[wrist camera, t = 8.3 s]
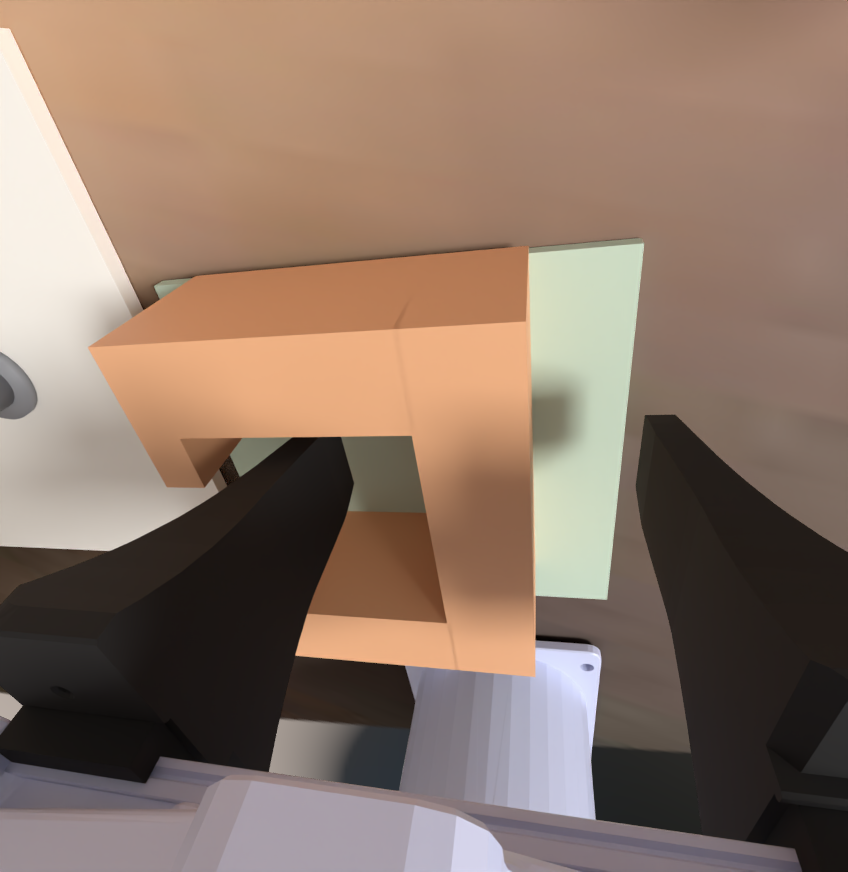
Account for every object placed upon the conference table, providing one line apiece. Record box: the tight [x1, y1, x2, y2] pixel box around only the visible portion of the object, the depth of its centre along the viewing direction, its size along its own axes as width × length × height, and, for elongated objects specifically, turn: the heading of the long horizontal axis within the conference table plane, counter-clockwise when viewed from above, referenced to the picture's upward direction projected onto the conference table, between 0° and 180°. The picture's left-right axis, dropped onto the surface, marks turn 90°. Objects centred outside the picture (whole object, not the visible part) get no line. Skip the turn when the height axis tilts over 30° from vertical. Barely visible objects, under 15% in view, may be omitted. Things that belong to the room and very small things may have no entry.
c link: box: [88, 246, 535, 677], centre depth 14 cm, size 8×10×4 cm
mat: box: [154, 238, 644, 600], centre depth 16 cm, size 12×12×1 cm
